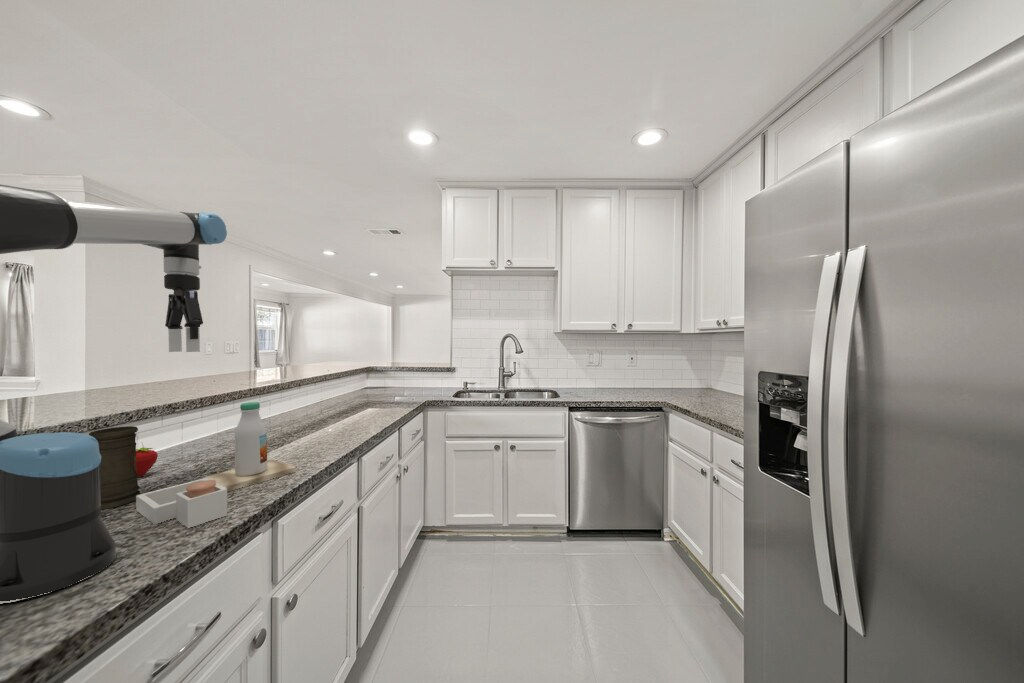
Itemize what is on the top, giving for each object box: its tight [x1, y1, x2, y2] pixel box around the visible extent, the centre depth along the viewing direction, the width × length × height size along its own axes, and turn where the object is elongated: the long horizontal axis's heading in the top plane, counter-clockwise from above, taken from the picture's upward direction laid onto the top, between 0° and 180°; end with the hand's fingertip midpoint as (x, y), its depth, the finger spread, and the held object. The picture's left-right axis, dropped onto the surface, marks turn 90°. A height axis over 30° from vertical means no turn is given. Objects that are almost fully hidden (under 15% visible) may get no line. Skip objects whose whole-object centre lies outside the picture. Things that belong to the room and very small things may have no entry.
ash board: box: [203, 459, 297, 493], centre depth 112 cm, size 18×14×2 cm
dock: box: [135, 477, 228, 529], centre depth 90 cm, size 13×22×6 cm, turn 56°
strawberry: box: [136, 441, 159, 478], centre depth 114 cm, size 6×8×10 cm
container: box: [88, 425, 142, 510], centre depth 95 cm, size 9×9×18 cm
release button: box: [186, 480, 216, 498], centre depth 86 cm, size 5×5×6 cm
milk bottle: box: [234, 401, 268, 476], centre depth 111 cm, size 8×8×20 cm
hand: (183, 351), depth 107 cm, fingers open, 13 cm apart
